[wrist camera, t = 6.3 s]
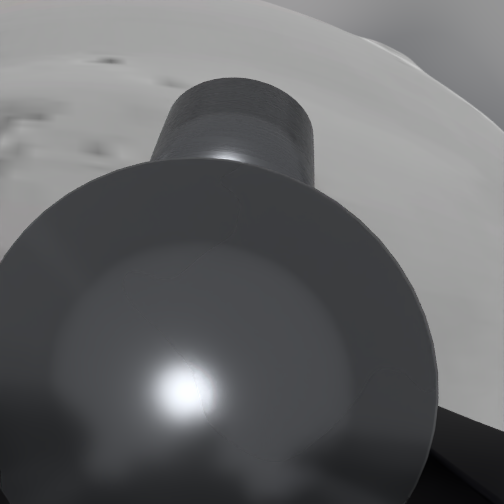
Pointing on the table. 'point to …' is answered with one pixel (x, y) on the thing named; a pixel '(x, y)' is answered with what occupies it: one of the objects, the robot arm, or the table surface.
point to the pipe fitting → (212, 329)
